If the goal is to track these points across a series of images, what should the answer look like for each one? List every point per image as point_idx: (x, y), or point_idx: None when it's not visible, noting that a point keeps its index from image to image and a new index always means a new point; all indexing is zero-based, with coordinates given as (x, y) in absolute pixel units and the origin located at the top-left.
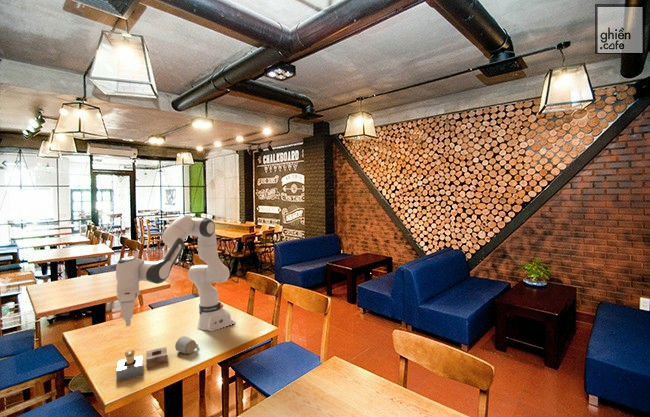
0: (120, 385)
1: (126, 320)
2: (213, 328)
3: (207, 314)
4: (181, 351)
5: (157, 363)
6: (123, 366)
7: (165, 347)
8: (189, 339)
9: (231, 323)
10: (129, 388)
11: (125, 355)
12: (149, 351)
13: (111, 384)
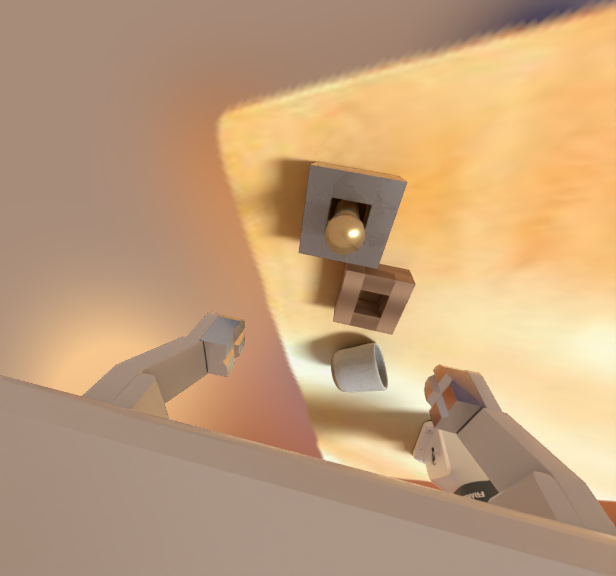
0: (287, 171)
1: (144, 363)
2: (431, 430)
3: (463, 475)
4: (350, 348)
5: (340, 287)
6: (333, 195)
7: (389, 331)
8: (348, 389)
9: (417, 456)
10: (253, 194)
11: (339, 215)
12: (403, 291)
13: (312, 143)
